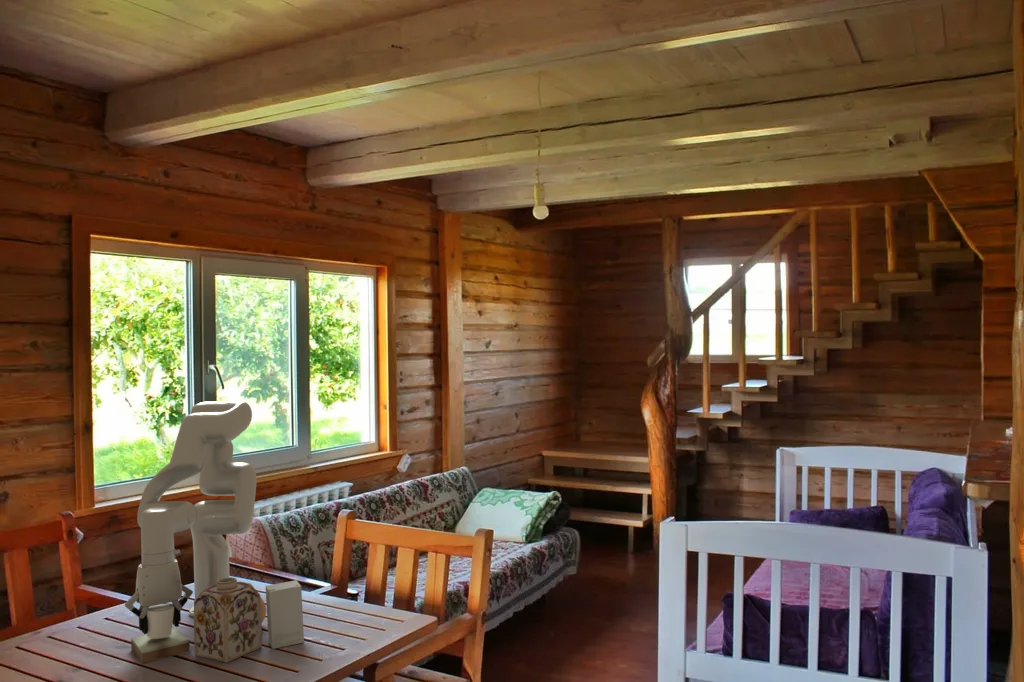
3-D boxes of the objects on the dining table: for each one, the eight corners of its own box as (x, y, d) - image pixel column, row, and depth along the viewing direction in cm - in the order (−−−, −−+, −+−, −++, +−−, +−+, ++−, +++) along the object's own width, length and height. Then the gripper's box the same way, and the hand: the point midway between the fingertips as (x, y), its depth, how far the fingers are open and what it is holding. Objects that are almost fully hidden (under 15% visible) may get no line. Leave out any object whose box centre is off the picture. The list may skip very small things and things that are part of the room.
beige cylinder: (162, 640, 200) (163, 611, 200) (138, 638, 202) (138, 609, 202) (179, 631, 207) (180, 603, 207) (155, 629, 208) (156, 601, 208)
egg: (262, 621, 225) (261, 588, 225) (269, 628, 219) (268, 594, 219) (237, 626, 221) (236, 593, 221) (244, 633, 215) (243, 599, 215)
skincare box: (299, 636, 212) (298, 579, 212) (304, 643, 207) (303, 585, 207) (266, 642, 209) (264, 584, 208) (270, 650, 203) (268, 590, 203)
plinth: (177, 639, 212) (176, 627, 212) (189, 651, 203) (189, 639, 203) (131, 650, 205) (131, 638, 205) (142, 663, 197) (142, 650, 197)
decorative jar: (226, 664, 195) (224, 589, 195) (193, 656, 200) (191, 583, 200) (264, 647, 205) (262, 575, 205) (231, 640, 211) (229, 570, 211)
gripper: (189, 548, 213) (191, 617, 213) (117, 561, 202) (119, 633, 202) (198, 554, 207) (200, 624, 207) (124, 567, 196) (126, 641, 196)
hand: (160, 628), depth 204 cm, fingers open, 6 cm apart
